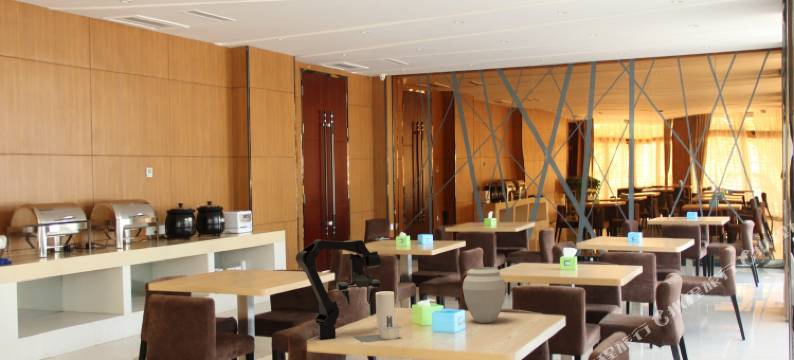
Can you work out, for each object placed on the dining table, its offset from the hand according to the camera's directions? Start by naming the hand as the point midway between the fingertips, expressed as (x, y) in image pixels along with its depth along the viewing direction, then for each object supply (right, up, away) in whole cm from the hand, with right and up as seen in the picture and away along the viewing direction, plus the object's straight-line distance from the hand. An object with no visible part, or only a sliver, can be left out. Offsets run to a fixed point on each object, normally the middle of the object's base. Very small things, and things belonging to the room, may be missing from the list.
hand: (359, 304), depth 350 cm
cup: (+12, -12, +10) cm, 20 cm away
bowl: (+14, -12, -15) cm, 23 cm away
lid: (+13, -7, -14) cm, 21 cm away
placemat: (+8, -12, -13) cm, 20 cm away
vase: (+57, -11, +18) cm, 60 cm away
